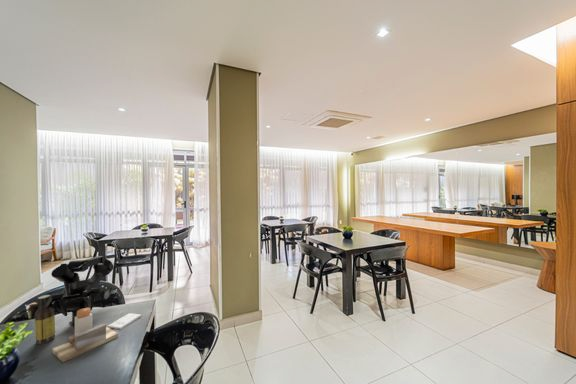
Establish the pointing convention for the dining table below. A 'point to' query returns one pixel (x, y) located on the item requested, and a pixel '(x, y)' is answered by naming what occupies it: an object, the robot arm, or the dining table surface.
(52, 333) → the sauce bottle
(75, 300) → the robot arm
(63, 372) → the dining table surface
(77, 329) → the white tall block
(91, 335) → the mount
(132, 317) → the external hard drive
